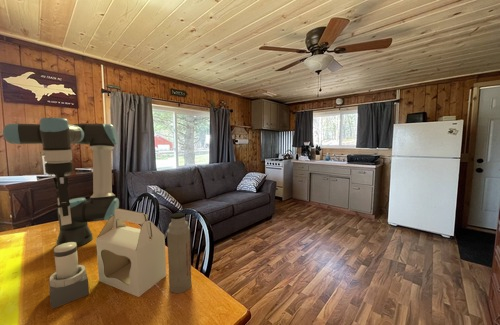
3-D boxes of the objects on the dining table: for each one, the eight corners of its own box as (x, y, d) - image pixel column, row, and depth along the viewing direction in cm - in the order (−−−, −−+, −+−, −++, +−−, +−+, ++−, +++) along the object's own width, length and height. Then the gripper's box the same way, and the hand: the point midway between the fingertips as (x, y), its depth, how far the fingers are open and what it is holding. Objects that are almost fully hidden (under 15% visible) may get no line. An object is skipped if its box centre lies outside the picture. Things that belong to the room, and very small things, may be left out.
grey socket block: (51, 293, 77) (48, 272, 76) (85, 280, 84) (84, 261, 83) (51, 309, 70) (48, 286, 69) (89, 294, 77) (87, 273, 76)
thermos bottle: (195, 280, 84) (193, 211, 82) (185, 294, 77) (182, 219, 74) (176, 277, 86) (174, 210, 83) (165, 291, 78) (161, 217, 75)
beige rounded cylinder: (78, 270, 81) (75, 240, 79) (80, 278, 76) (77, 246, 75) (56, 277, 77) (53, 245, 75) (57, 286, 72) (53, 252, 71)
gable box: (167, 275, 87) (164, 209, 84) (139, 297, 75) (134, 220, 72) (129, 263, 96) (125, 202, 93) (98, 281, 84) (93, 212, 81)
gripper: (44, 159, 83) (50, 211, 86) (44, 167, 65) (52, 233, 68) (69, 157, 88) (74, 207, 91) (76, 164, 70) (82, 226, 73)
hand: (65, 218), depth 79 cm, fingers open, 13 cm apart
